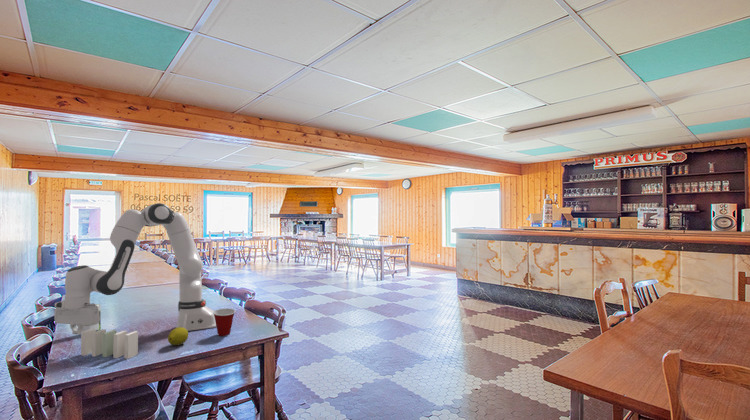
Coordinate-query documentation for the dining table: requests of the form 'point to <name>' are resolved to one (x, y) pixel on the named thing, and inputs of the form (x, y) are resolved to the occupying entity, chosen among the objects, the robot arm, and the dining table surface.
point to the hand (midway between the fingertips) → (77, 334)
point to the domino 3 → (108, 343)
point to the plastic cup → (224, 320)
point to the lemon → (178, 336)
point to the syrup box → (96, 326)
